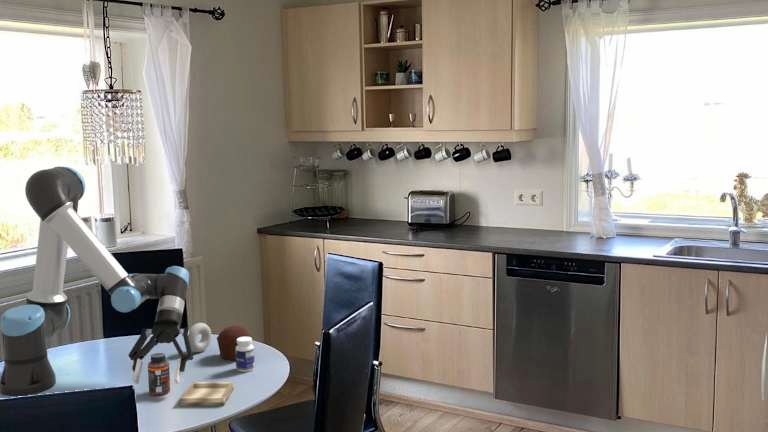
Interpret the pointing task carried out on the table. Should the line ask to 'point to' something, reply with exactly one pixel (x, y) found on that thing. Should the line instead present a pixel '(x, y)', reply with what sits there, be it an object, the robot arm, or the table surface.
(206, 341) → the donut
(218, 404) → the birch tray
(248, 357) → the pill bottle
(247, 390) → the table surface
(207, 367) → the table surface
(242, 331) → the muffin
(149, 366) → the supplement bottle
